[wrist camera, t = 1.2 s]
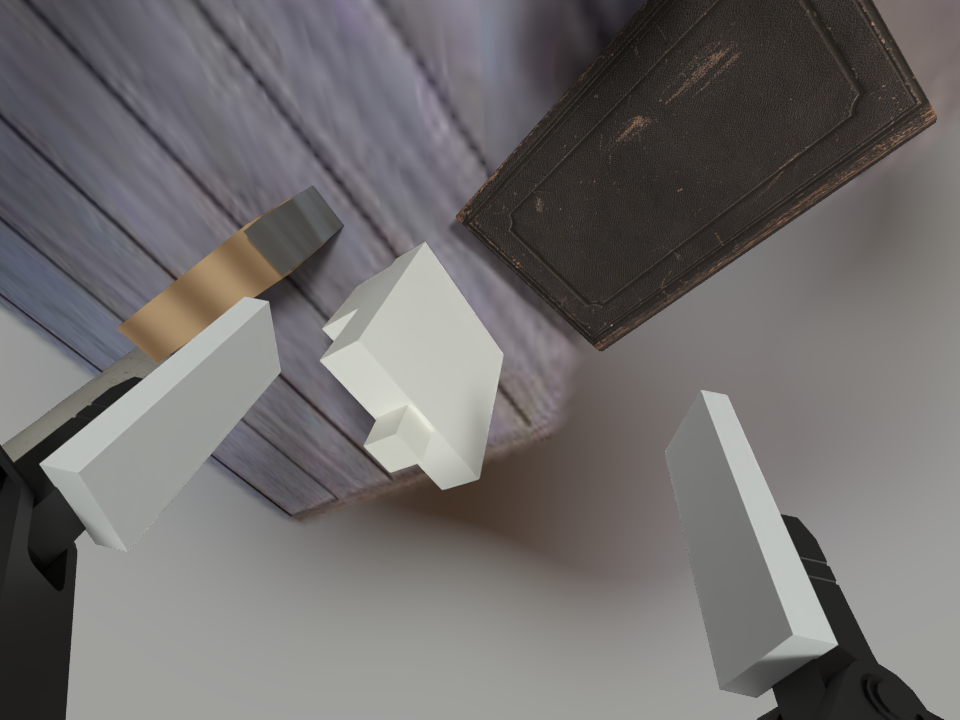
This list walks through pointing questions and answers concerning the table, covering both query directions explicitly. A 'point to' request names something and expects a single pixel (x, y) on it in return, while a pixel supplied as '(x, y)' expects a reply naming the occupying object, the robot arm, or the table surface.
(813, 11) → the hardcover book
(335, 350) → the white block with nub
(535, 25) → the table surface
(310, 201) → the tan piece
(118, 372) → the thermos bottle
